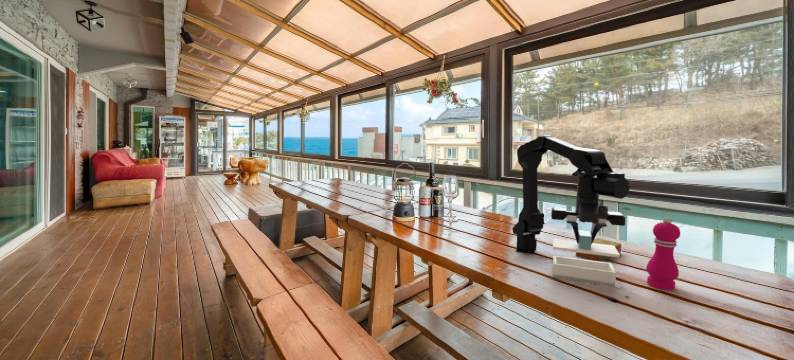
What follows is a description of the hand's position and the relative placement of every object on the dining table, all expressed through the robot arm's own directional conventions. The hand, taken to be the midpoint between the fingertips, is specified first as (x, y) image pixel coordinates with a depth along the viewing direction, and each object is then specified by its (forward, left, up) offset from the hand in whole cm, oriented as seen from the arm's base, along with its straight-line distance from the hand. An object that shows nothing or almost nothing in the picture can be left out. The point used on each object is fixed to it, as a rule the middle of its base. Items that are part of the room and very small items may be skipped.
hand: (583, 243), depth 99 cm
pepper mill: (+20, +2, -10) cm, 23 cm away
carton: (+7, +24, -11) cm, 27 cm away
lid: (0, 0, -2) cm, 2 cm away
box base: (0, 0, -10) cm, 10 cm away
